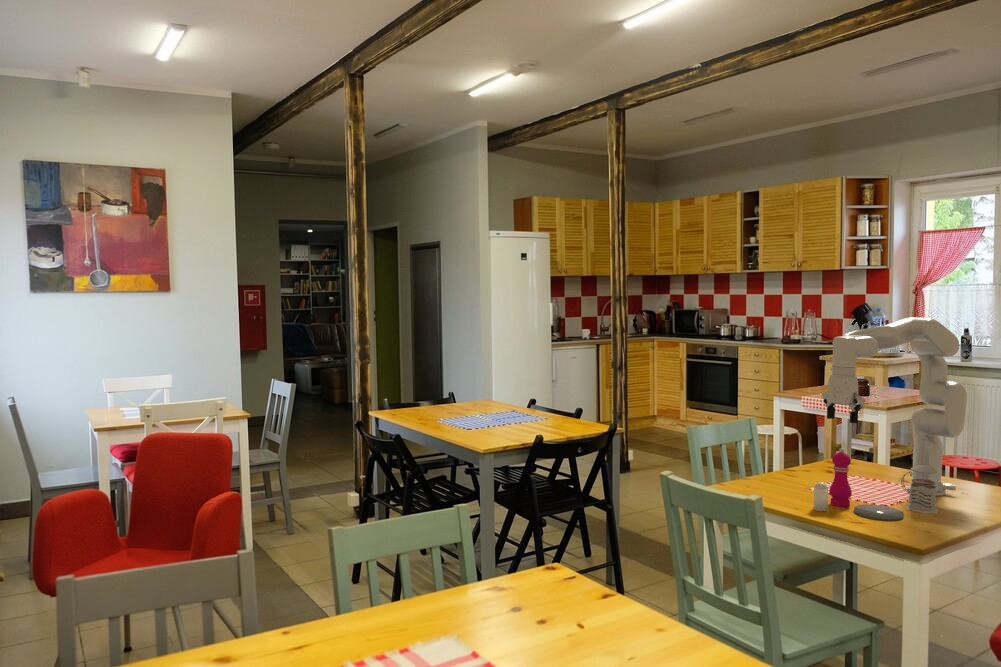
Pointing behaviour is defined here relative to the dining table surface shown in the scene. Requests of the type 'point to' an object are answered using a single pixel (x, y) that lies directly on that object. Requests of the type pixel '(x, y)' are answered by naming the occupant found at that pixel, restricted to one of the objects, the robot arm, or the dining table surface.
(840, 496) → the pepper mill
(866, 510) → the disc
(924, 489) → the french press
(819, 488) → the salt shaker
